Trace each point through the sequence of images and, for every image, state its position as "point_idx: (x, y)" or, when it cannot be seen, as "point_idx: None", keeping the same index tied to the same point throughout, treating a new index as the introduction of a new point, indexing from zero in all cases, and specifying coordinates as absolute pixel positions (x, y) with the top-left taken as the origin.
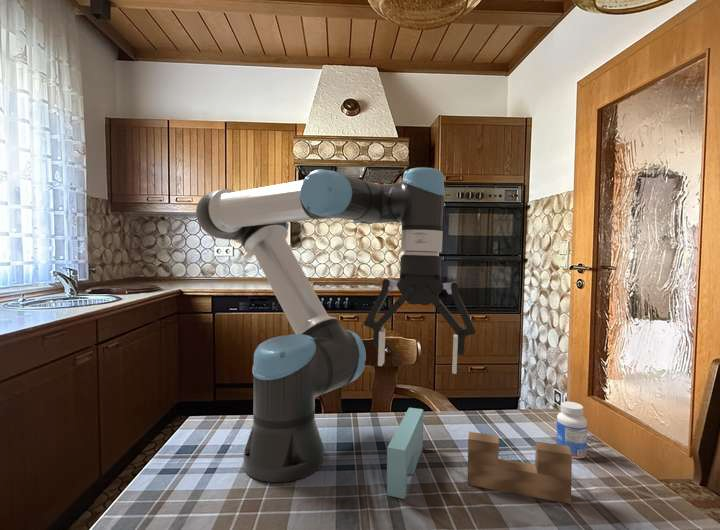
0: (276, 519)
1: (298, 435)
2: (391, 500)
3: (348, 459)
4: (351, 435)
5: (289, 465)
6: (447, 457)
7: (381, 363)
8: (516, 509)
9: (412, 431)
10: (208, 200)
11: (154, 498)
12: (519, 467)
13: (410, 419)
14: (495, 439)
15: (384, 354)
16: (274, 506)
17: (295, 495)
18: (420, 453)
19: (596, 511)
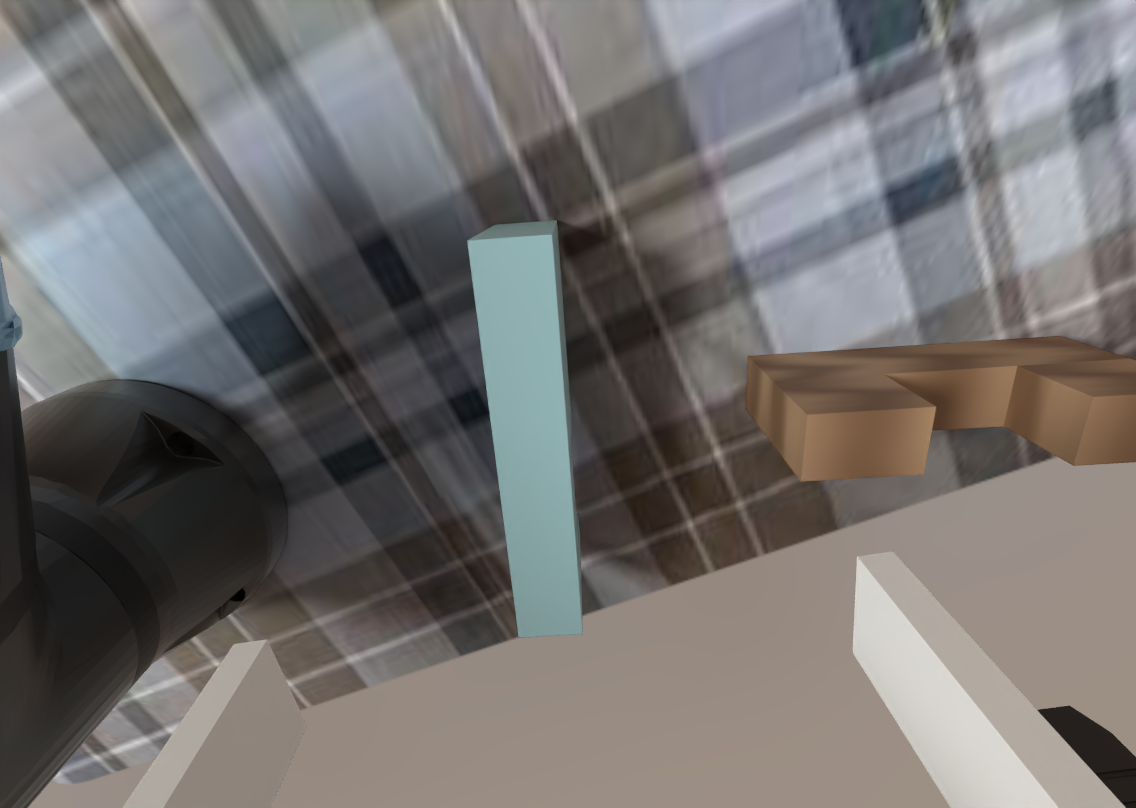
0: (338, 686)
1: (180, 634)
2: None
3: (335, 416)
4: (233, 236)
5: (231, 606)
6: (665, 259)
7: (294, 745)
8: None
9: (568, 501)
10: None
11: None
12: (950, 408)
13: (524, 391)
14: (916, 444)
15: (231, 706)
16: (302, 659)
17: (315, 615)
18: (561, 282)
19: None
